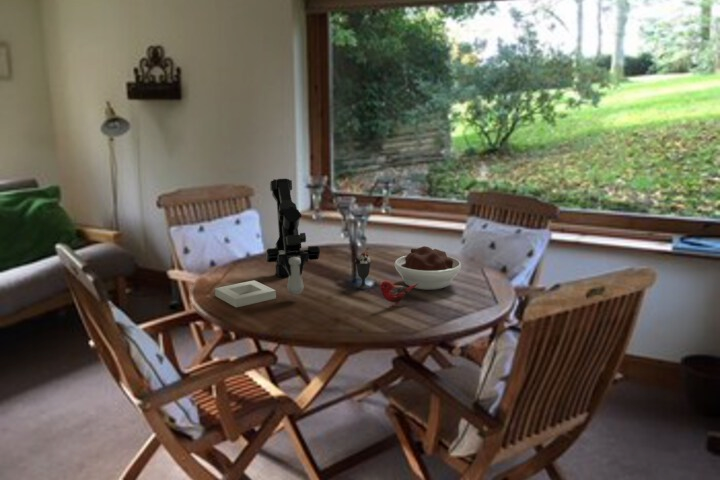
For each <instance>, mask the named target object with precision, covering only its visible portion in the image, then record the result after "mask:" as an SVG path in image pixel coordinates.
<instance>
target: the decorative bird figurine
mask: <svg viewBox="0 0 720 480" xmlns="http://www.w3.org/2000/svg"><path fill="white" fill-rule="evenodd" d="M416 285H418V284H415V285H413V286H404V285H395V284H393V283H392V282H390V281H387V280H384V281H382V283H381V285H380V287H379V290H380V289H381V292H382V294H383V295H382V296H383V297H384V299H386V301H388V302H390V303H393V304H392V305H389V306H388V307H389V308H391V307H392V308H395V306H398V305H400V303H399V302H400V301H402V300H403V299H404V298H405V297H406V296H408V293H409V292H410V291H411V290H412V289H415V288H414V287H415V286H416Z"/></svg>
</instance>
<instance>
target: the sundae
mask: <svg viewBox="0 0 720 480" xmlns="http://www.w3.org/2000/svg"><path fill="white" fill-rule="evenodd" d="M368 249H369V248H366V250H365V251H364V252H362V253H361V254H360V255H359V256H357V257H356V256H355V258H354V259H355V260H354V265H356V270H357V276H358V277H359V278H360V279H361V284H358V285H357V286H358V287H357V286H356V288H357V289H360V290H369V289H370V285H368V284H366V278H367V277H369V275H370V270H371V269H370V268H371V263H373V261H372V260H371V258H370V257H369V254H368V253H366V251H368Z"/></svg>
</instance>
